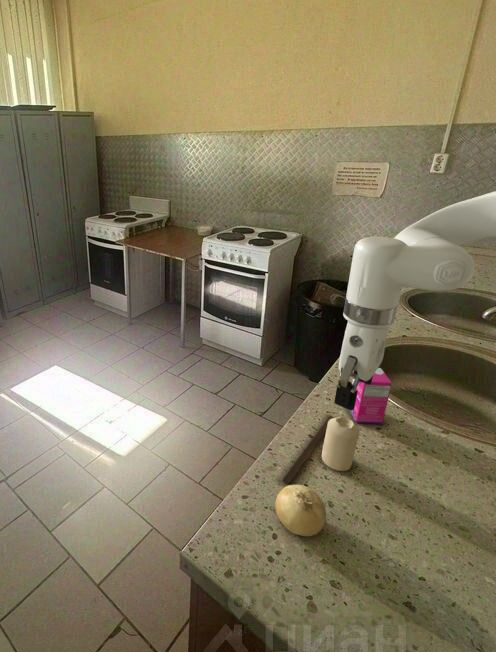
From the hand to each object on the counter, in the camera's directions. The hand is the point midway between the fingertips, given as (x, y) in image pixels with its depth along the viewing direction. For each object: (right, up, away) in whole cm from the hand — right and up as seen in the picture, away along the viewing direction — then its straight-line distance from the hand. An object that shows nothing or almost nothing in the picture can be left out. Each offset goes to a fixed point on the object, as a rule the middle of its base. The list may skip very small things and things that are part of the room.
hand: (353, 393), depth 73 cm
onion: (-12, -21, -5) cm, 25 cm away
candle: (0, -16, +7) cm, 17 cm away
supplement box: (+13, -10, +18) cm, 24 cm away
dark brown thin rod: (-4, -14, +10) cm, 17 cm away
